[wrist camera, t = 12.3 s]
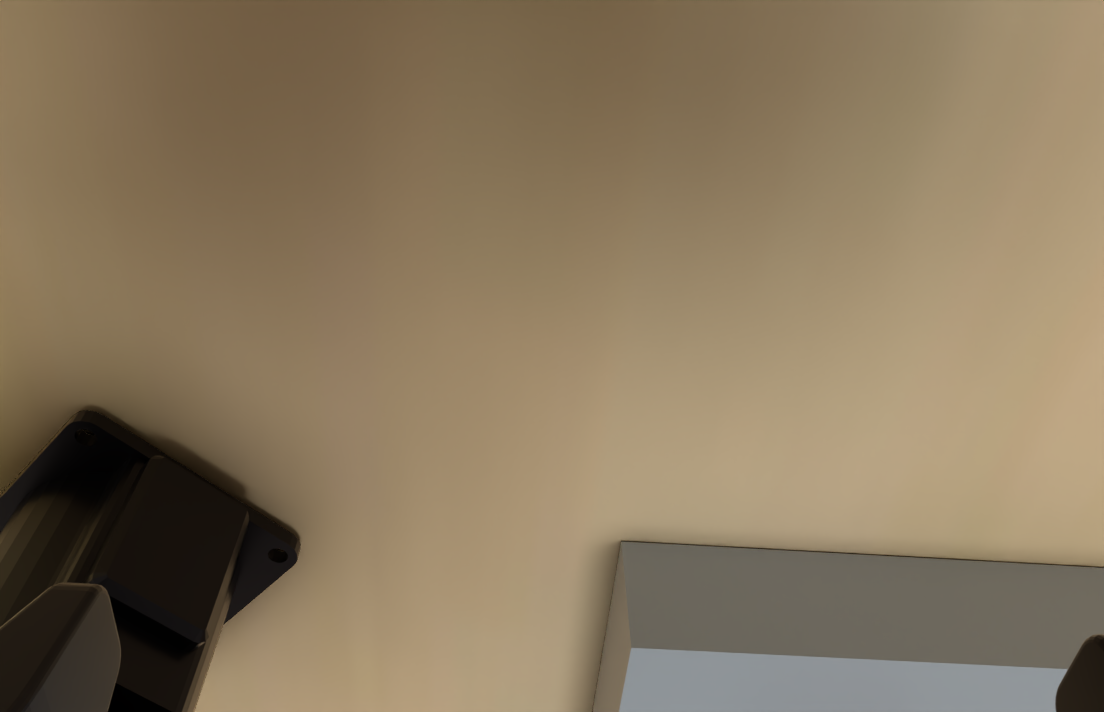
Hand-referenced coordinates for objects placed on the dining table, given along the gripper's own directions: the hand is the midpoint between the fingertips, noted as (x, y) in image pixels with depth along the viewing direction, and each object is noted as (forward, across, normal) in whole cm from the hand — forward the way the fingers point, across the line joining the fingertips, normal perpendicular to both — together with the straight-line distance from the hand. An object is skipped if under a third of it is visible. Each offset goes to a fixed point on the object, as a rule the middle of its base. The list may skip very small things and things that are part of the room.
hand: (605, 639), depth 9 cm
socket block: (+13, -9, +18) cm, 24 cm away
